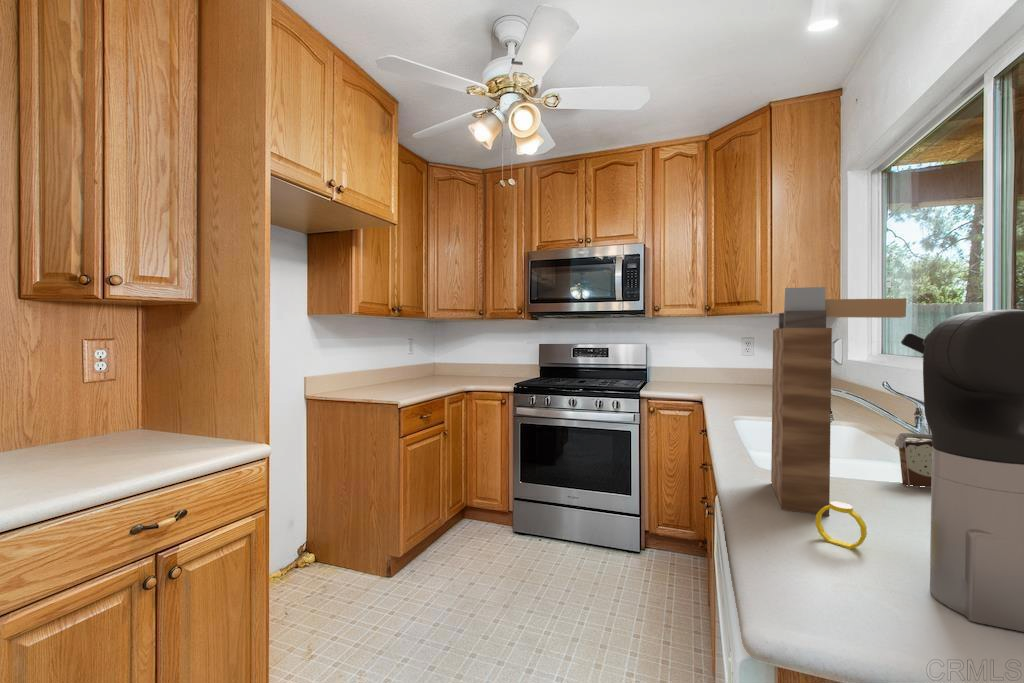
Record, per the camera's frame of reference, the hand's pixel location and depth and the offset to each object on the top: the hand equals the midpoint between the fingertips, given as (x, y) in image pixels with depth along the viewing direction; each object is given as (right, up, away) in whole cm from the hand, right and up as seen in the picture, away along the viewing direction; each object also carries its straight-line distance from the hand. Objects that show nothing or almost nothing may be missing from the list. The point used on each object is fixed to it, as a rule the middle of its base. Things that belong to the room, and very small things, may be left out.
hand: (914, 337), depth 76 cm
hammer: (-10, +2, +3) cm, 11 cm away
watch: (-20, -31, -10) cm, 38 cm away
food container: (+19, -31, +19) cm, 41 cm away
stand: (-14, -30, +10) cm, 35 cm away
